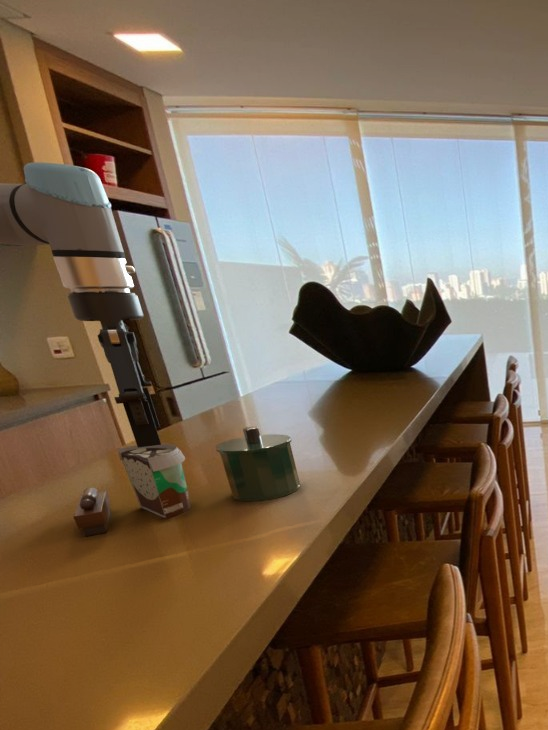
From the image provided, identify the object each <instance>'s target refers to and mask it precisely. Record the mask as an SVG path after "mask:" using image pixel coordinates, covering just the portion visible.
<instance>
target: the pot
mask: <svg viewBox="0 0 548 730" xmlns="http://www.w3.org/2000/svg"><path fill="white" fill-rule="evenodd" d="M219 454H220V455H219V456H220V458H221V462H222V465H223V469H224V472H225V475H226V479H227V482H228V485H229V489H230V492H231V495H232V498H233V500H235V501H239V502H261V501H268V500H273V499H279V498H282V497H286V496H288V495H291V494H294V493H295V492H297V491H298V490H299V489H300V488H301V481H300V477H299V472H298V469H297V466H296V461H295V457H294V453H293V449H292V446H291V442H290V443H289V444H287V445H284V446H282V447H278V448H275V449H270V450H265V451H260V452H252V453H241V454H226V453H220V452H219Z"/></svg>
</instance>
